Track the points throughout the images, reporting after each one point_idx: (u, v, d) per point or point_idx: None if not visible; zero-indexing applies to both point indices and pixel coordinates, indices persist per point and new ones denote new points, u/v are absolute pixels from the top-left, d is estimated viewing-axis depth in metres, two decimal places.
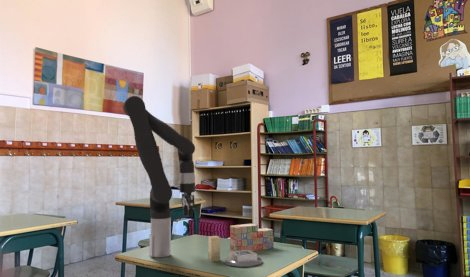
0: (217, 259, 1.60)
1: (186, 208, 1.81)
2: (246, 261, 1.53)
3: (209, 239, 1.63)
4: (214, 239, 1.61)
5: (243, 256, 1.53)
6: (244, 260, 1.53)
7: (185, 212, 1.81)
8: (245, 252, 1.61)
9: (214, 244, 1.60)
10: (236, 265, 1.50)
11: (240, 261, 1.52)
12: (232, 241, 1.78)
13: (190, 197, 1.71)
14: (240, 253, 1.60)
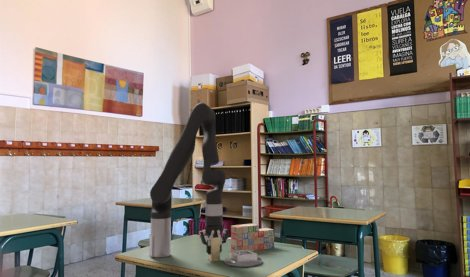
0: (217, 259, 1.60)
1: None
2: (246, 261, 1.53)
3: None
4: (214, 239, 1.61)
5: (243, 256, 1.53)
6: (244, 260, 1.53)
7: None
8: (245, 252, 1.61)
9: (214, 244, 1.60)
10: (236, 265, 1.50)
11: (240, 261, 1.52)
12: (233, 241, 1.79)
13: None
14: (240, 253, 1.60)
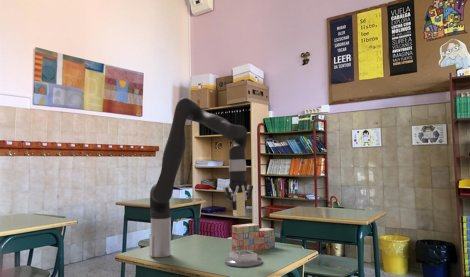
0: (242, 214, 1.59)
1: None
2: (246, 261, 1.53)
3: None
4: (239, 194, 1.59)
5: (243, 256, 1.53)
6: (244, 260, 1.53)
7: None
8: (245, 252, 1.61)
9: (239, 199, 1.59)
10: (236, 265, 1.50)
11: (240, 261, 1.52)
12: (233, 241, 1.79)
13: None
14: (240, 253, 1.60)
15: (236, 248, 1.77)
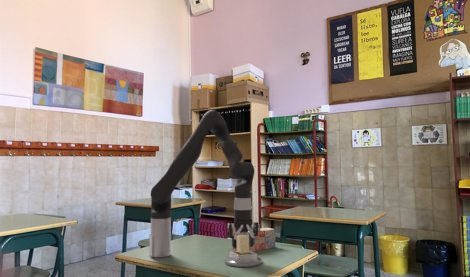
0: None
1: None
2: (246, 261, 1.53)
3: (237, 239, 1.58)
4: (243, 238, 1.56)
5: (243, 256, 1.53)
6: (244, 260, 1.53)
7: None
8: None
9: (243, 243, 1.56)
10: (236, 265, 1.50)
11: (240, 261, 1.52)
12: None
13: None
14: None
15: None
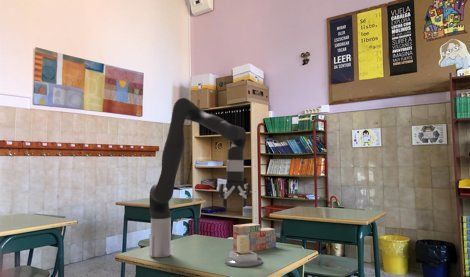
0: None
1: None
2: (246, 261, 1.53)
3: (237, 239, 1.58)
4: (243, 238, 1.56)
5: (243, 256, 1.53)
6: (244, 260, 1.53)
7: None
8: None
9: (243, 243, 1.56)
10: (236, 265, 1.50)
11: (240, 261, 1.52)
12: (235, 241, 1.79)
13: None
14: None
15: None
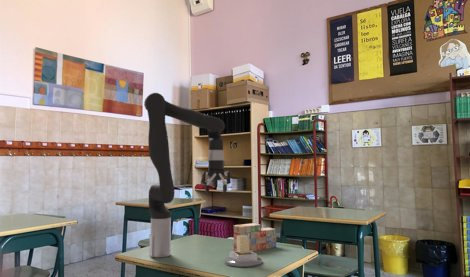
0: None
1: None
2: (246, 261, 1.53)
3: (237, 239, 1.58)
4: (243, 238, 1.56)
5: (243, 256, 1.53)
6: (244, 260, 1.53)
7: None
8: None
9: (243, 243, 1.56)
10: (236, 265, 1.50)
11: (240, 261, 1.52)
12: (235, 241, 1.80)
13: None
14: None
15: None
